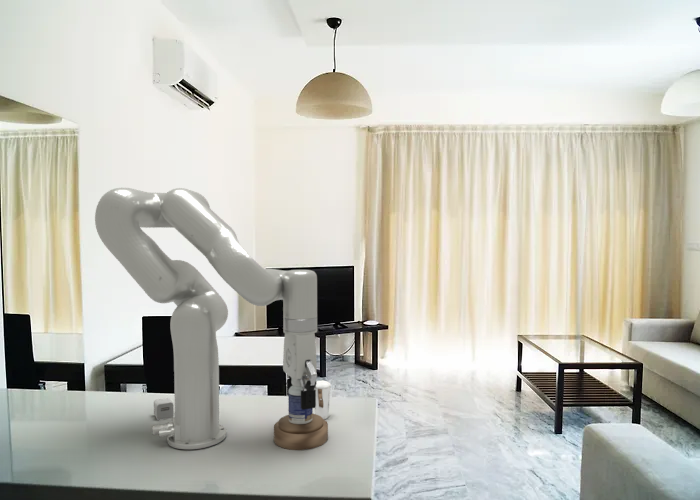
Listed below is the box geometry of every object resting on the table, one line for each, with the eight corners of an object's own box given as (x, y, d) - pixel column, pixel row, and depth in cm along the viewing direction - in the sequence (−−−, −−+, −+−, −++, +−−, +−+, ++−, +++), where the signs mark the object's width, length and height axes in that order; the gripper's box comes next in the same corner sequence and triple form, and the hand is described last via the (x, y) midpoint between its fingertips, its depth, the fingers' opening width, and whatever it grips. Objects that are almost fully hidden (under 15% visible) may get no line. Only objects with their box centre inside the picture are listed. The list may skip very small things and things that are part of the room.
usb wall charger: (156, 420, 120) (156, 404, 120) (152, 412, 126) (152, 397, 125) (173, 417, 122) (173, 401, 122) (168, 409, 128) (168, 394, 127)
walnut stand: (283, 454, 100) (283, 435, 100) (267, 433, 111) (267, 416, 111) (336, 443, 105) (336, 425, 105) (316, 424, 116) (316, 408, 116)
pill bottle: (311, 425, 105) (311, 380, 105) (286, 425, 105) (286, 380, 105) (313, 416, 111) (313, 374, 111) (290, 416, 111) (290, 374, 111)
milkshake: (333, 420, 119) (333, 380, 119) (311, 420, 119) (311, 380, 119) (334, 414, 123) (334, 375, 123) (313, 414, 124) (313, 375, 123)
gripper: (273, 320, 114) (273, 393, 114) (296, 333, 98) (297, 416, 99) (303, 318, 117) (303, 388, 117) (330, 330, 102) (331, 411, 102)
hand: (300, 401), depth 108 cm, fingers open, 9 cm apart
